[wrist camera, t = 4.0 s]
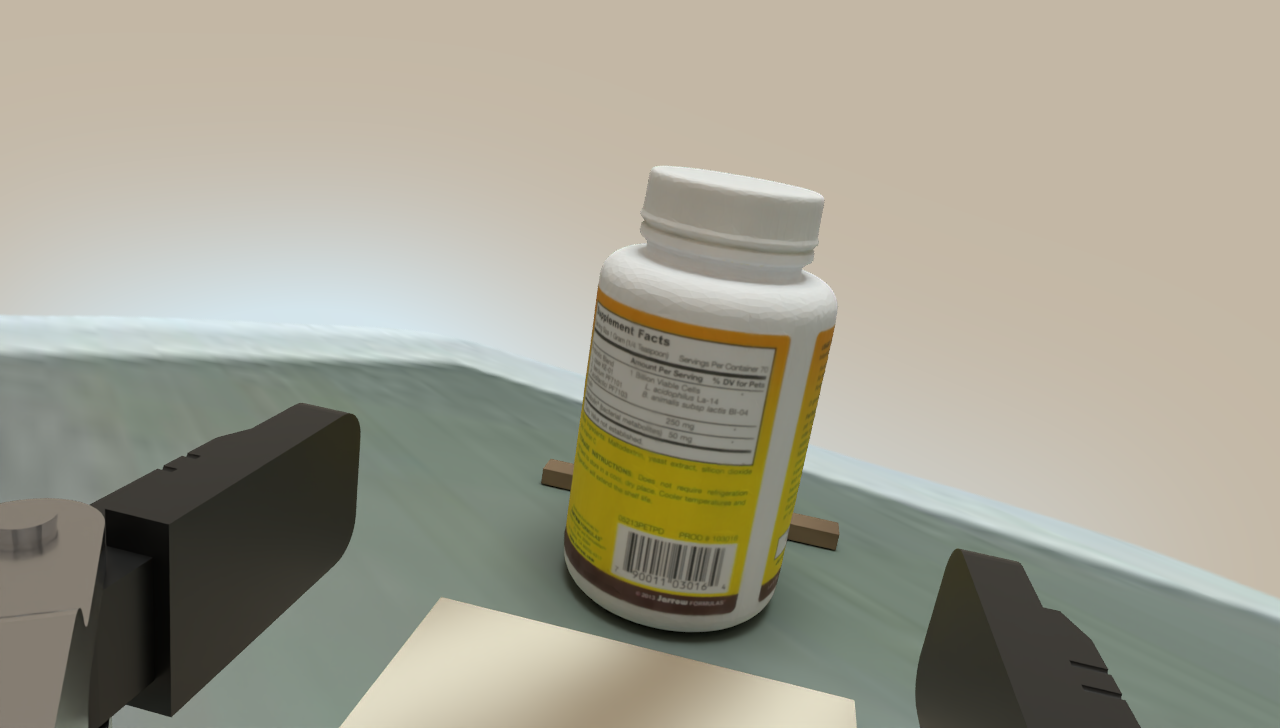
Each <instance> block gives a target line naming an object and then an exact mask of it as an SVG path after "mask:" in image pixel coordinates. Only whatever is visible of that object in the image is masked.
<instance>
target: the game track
mask: <svg viewBox="0 0 1280 728" xmlns="http://www.w3.org/2000/svg"><path fill="white" fill-rule="evenodd" d="M573 469H574V464H572V463H567V462H563V461H558V460H554V459H550V460H549V462H548V463H547V464H546V466H545V467H544V468H543V474H542V482H541V483H542V484H547V485H551V486H555V487H560V488H564V489H569V490H571V485H572V478H573ZM838 538H839V525H838V523H837V522H832V521H828V520H823V519H819V518H814V517H810V516H805V515H801V514H796V513H793V514H792V518H791V523H790V528H789V532H788V537H787V539H789V540H793V541H798V542H802V543H807V544H811V545H816V546H820V547H824V548H829V549H833V550H836V546H837V542H838ZM339 728H857V726H856V714H855V702H854V700H851V699H847V698H843V697H839V696H835V695H831V694H827V693H823V692H819V691H815V690H811V689H807V688H803V687H799V686H795V685H791V684H787V683H783V682H779V681H775V680H771V679H767V678H763V677H759V676H755V675H751V674H747V673H743V672H739V671H735V670H731V669H727V668H723V667H719V666H715V665H711V664H707V663H703V662H699V661H695V660H691V659H687V658H683V657H679V656H675V655H671V654H667V653H663V652H659V651H655V650H651V649H647V648H643V647H639V646H635V645H631V644H627V643H623V642H619V641H615V640H611V639H607V638H603V637H599V636H595V635H591V634H587V633H583V632H579V631H575V630H571V629H567V628H563V627H559V626H555V625H551V624H547V623H543V622H539V621H535V620H531V619H527V618H523V617H519V616H515V615H511V614H507V613H503V612H499V611H495V610H491V609H487V608H483V607H479V606H475V605H471V604H467V603H463V602H459V601H455V600H451V599H447V598H443V597H441V598H440V599H439V600H438V602H437V603H436V604H435V606H434V607H433V608H432V609H431V611H430V612H429V613H428V614H427V616H426V617H425V618H424V620H423V621H422V622H421V623H420V625H419V626H418V627H417V629H416V630H415V631H414V632H413V634H412V635H411V636H410V638H409V639H408V640H407V641H406V643H405V644H404V645H403V647H402V648H401V649H400V650H399V652H398V653H397V654H396V656H395V657H394V658H393V659H392V661H391V662H390V663H389V665H388V666H387V667H386V668H385V670H384V671H383V672H382V673H381V675H380V676H379V677H378V679H377V680H376V681H375V682H374V684H373V685H372V686H371V688H370V689H369V690H368V691H367V693H366V694H365V695H364V697H363V698H362V699H361V700H360V702H359V703H358V704H357V706H356V707H355V708H354V709H353V711H352V712H351V713H350V715H349V716H348V717H347V718H346V720H345V721H344V722H343V724H342V725H341V726H340V727H339Z"/></svg>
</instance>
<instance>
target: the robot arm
mask: <svg viewBox="0 0 1280 728" xmlns="http://www.w3.org/2000/svg"><path fill="white" fill-rule="evenodd" d="M359 451H360V425H359V421H358V419H357V417H356V416H355V415H353V414H350V413H346V412H341V411H337V410H332V409H328V408H323V407H319V406H314V405H310V404H305V403H299V404H296V405H294V406H292V407H290V408H288V409H287V410H285V411H283V412H281V413H279V414H277V415H276V416H274V417H272V418H270V419H268V420H266V421H265V422H263V423H261V424H259V425H257V426H255V427H254V428H252V429H248V430H244V431H240V432H237V433H233V434H229V435H225V436H221V437H217V438H215V439H213V440H211V441H209V442H207V443H206V444H204V445H202V446H200V447H198V448H196V449H194V450H192V451H190V452H188V454H187V457H184V456H181V457H179V458H177V459H175V460H173V461H171V462H170V463H168V464H166V465H164V467H163V469H162V470H160V469H156V470H154V471H152V472H151V473H149V474H147V475H145V476H143V477H141V478H139V479H137V480H135V481H134V482H132V483H130V484H128V485H126V486H124V487H122V488H120V489H118V490H117V491H115V492H113V493H111V494H109V495H107V496H105V497H103V498H101V499H99V500H98V501H96V502H94V503H92V504H90V505H88V504H85V503H82V502H77V501H73V500H66V499H52V498H41V499H26V500H17V501H11V502H5V503H0V728H112V716H113V715H114V714H115V713H116V712H118V711H119V710H120V709H121V708H122V707H124V706H125V705H129V706H133V707H137V708H140V709H144V710H147V711H151V712H154V713H158V714H162V715H165V716H169V717H172V716H173V715H174V714H175V713H176V712H177V711H178V710H180V709H181V708H182V707H183V706H184V705H185V704H186V703H187V702H188V701H189V700H190V699H191V698H192V697H193V696H195V695H196V694H197V693H198V692H199V691H200V690H201V689H202V688H203V687H204V686H205V685H206V684H207V683H208V682H210V681H211V680H212V679H213V678H214V677H215V676H216V675H217V674H218V673H219V672H220V671H221V670H222V669H224V668H225V667H226V666H227V665H228V664H229V663H230V662H231V661H232V660H233V659H234V658H235V657H236V656H237V655H239V654H240V653H241V652H242V651H243V650H244V649H245V648H246V647H247V646H248V645H249V644H250V643H251V642H252V641H254V640H255V639H256V638H257V637H258V636H259V635H260V634H261V633H262V632H263V631H264V630H265V629H266V628H268V627H269V626H270V625H271V624H272V623H273V622H274V621H275V620H276V619H277V618H278V617H279V616H280V615H281V614H283V613H284V612H285V611H286V610H287V609H288V608H289V607H290V606H291V605H292V604H293V603H294V602H295V601H296V600H298V599H299V598H300V597H301V596H302V595H303V594H304V593H305V592H306V591H307V590H308V589H309V588H310V587H312V586H313V585H314V584H315V583H316V582H317V581H318V580H319V579H320V578H321V577H322V576H323V575H324V574H325V573H327V572H328V571H329V570H330V569H331V568H332V567H333V566H334V565H335V564H336V563H337V562H338V561H339V560H340V558H341V557H342V555H343V554H344V552H345V550H346V548H347V546H348V544H349V542H350V539H351V536H352V533H353V529H354V524H355V517H356V501H357V485H358V468H359ZM1107 672H1108V668H1107V667H1106V665H1105V663H1104V661H1103V659H1102V658H1101V656H1100V654H1099V652H1098V650H1097V649H1096V647H1095V645H1094V643H1093V642H1092V640H1091V639H1090V638H1089V637H1088V636H1087V635H1086V634H1084V633H1083V632H1082V631H1081V630H1080V629H1079V628H1078V627H1077V626H1076V625H1074V624H1073V623H1072V622H1071V621H1070V620H1069V619H1068V618H1067V617H1066V616H1065V615H1063V614H1062V613H1061V612H1060V611H1057V610H1052V609H1048V608H1043V607H1042V605H1041V603H1040V600H1039V598H1038V596H1037V594H1036V592H1035V590H1034V588H1033V586H1032V584H1031V582H1030V580H1029V578H1028V576H1027V574H1026V572H1025V570H1024V568H1023V566H1022V565H1021V563H1019V562H1017V561H1012V560H1008V559H1003V558H998V557H994V556H989V555H985V554H980V553H976V552H971V551H967V550H962V549H956V550H954V551H953V553H952V554H951V556H950V558H949V560H948V563H947V566H946V569H945V572H944V576H943V579H942V582H941V586H940V589H939V593H938V596H937V600H936V603H935V606H934V610H933V613H932V617H931V620H930V624H929V627H928V630H927V634H926V637H925V641H924V644H923V648H922V651H921V655H920V659H919V663H918V669H917V677H916V690H915V698H916V708H917V714H918V719H919V724H920V728H1141V727H1140V725H1139V724H1138V722H1137V720H1136V718H1135V717H1134V715H1133V713H1132V711H1131V709H1130V708H1129V706H1128V704H1127V702H1126V700H1121V696H1122V693H1121V692H1120V690H1119V688H1118V686H1117V684H1116V683H1115V681H1114V679H1113V677H1112V675H1108V673H1107Z"/></svg>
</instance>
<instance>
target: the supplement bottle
mask: <svg viewBox="0 0 1280 728" xmlns="http://www.w3.org/2000/svg"><path fill="white" fill-rule="evenodd" d="M823 206H824V197H823V196H822V195H821V194H819V193H817V192H814V191H812V190H809V189H805V188H801V187H797V186H792V185H788V184H783V183H779V182H774V181H768V180H764V179H758V178H753V177H747V176H742V175H736V174H730V173H724V172H717V171H711V170H703V169H696V168H688V167H675V166H656V167H653V168H652V169H651V172H650V175H649V180H648V186H647V192H646V197H645V202H644V206H643V208H642V210H641V215H642V217H643V218H644V220H645V221H643V222H642V224H641V228H640V232H641V234H642V236H643V237H645V239H646V240H647V244H635V245H630V246H626V247H623V248H621V249H619V250H617V251H615V252H614V253H612V254H611V255H610V256H609V257H608V258H607V259H606V261H605V262H604V264H603V266H602V269H601V273H600V279H599V284H598V292H597V299H596V306H595V314H594V322H593V330H592V337H591V345H590V352H589V360H588V366H587V373H586V380H585V389H584V397H583V404H582V411H581V418H580V425H579V433H578V440H577V447H576V455H575V462H574V469H573V478H572V485H571V492H570V500H569V507H568V515H567V524H566V528H565V535H564V556H565V561H566V564H567V567H568V570H569V572H570V574H571V576H572V578H573V579H574V581H575V582H576V584H577V585H578V586H579V588H580V589H581V590H582V591H583V592H584V593H585V594H586V595H587V596H588V597H590V598H591V599H592V600H593V601H594V602H596V603H597V604H599V605H600V606H602V607H603V608H605V609H607V610H608V611H610V612H612V613H614V614H616V615H618V616H620V617H622V618H625V619H627V620H630V621H632V622H635V623H638V624H641V625H645V626H649V627H653V628H657V629H663V630H670V631H679V632H708V631H715V630H721V629H725V628H729V627H733V626H735V625H738V624H740V623H743V622H745V621H747V620H749V619H750V618H752V617H754V616H755V615H756V614H758V613H759V612H760V611H761V610H762V609H763V608H764V607H765V606H766V605H767V604H768V602H769V601H770V599H771V598H772V596H773V594H774V591H775V588H776V585H777V581H778V577H779V573H780V569H781V564H782V560H783V555H784V551H785V546H786V542H787V537H788V532H789V528H790V523H791V518H792V514H793V510H794V505H795V501H796V497H797V492H798V488H799V484H800V478H801V475H802V470H803V466H804V461H805V457H806V452H807V448H808V443H809V439H810V434H811V430H812V425H813V421H814V417H815V413H816V407H817V403H818V399H819V395H820V390H821V384H822V381H823V376H824V373H825V368H826V363H827V360H828V354H829V350H830V345H831V342H832V337H833V332H834V328H835V322H836V315H837V308H838V306H837V299H836V296H835V294H834V292H833V291H832V289H831V288H830V287H829V286H828V284H827V283H825V282H824V281H823V280H822V279H820V278H819V277H817V276H815V275H813V274H811V273H809V272H807V271H805V270H802V268H803V267H804V266H806V265H808V264H810V263H812V261H813V258H814V250H813V249H814V248H815V247H816V246H817V245H818V243H819V241H818V233H819V227H820V222H821V216H822V211H823Z"/></svg>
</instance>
